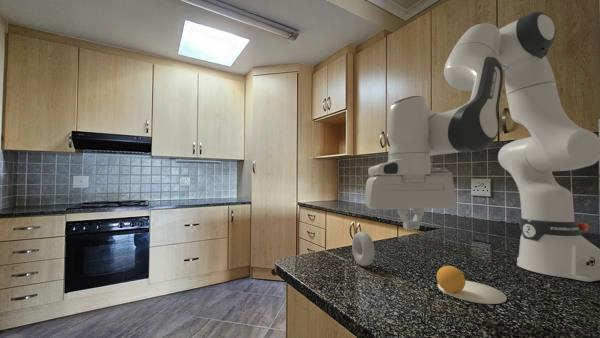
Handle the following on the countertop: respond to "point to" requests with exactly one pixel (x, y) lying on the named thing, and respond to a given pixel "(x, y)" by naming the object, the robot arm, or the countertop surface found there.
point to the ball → (451, 279)
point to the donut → (363, 248)
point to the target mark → (478, 293)
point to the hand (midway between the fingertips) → (411, 229)
